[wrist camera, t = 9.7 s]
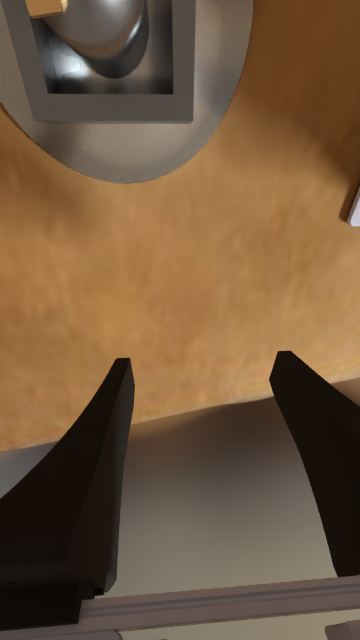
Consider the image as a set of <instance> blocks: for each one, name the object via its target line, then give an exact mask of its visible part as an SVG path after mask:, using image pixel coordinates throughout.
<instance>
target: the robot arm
mask: <svg viewBox="0 0 360 640" xmlns="http://www.w3.org/2000/svg"><path fill="white" fill-rule="evenodd" d="M347 224H349V225H350V226H360V187H359V190H358V192H357V195H356V197H355V200H354V203H353V205H352V208H351V211H350V213H349V216H348V219H347ZM269 381H270V384H271V387H272V391H273V394H274V397H275V399H276V402H277V404H278V406H279V408H280V410H281V412H282V415H283V417H284V419H285V421H286V424H287V426H288V428H289V430H290V432H291V434H292V436H293V438H294V441H295V443H296V445H297V448H298V450H299V453H300V455H301V458H302V461H303V463H304V467H305V470H306V472H307V475H308V479H309V482H310V485H311V487H312V491H313V494H314V497H315V500H316V503H317V507H318V510H319V513H320V517H321V521H322V524H323V528H324V531H325V535H326V539H327V543H328V546H329V550H330V554H331V558H332V562H333V566H334V569H335V571H336V574H337V576H338V577H336V578H326V579H315V580H303V581H292V582H280V583H269V584H258V585H248V586H236V587H224V588H213V589H202V590H191V591H180V592H168V593H159V594H158V593H157V594H146V595H135V596H125V597H112V598H102V599H94V598H95V596H98V595H104V592H108V591H109V590H110V588H111V587H112V586H113V585H114V583H115V581H116V577H117V556H118V538H119V536H118V535H119V522H120V507H121V493H122V481H123V469H124V459H125V452H126V446H127V441H128V435H129V430H130V424H131V418H132V412H133V406H134V391H135V384H134V378H133V373H132V367H131V361H130V358H117V359H116V360H115V361H114V363H113V365H112V367H111V369H110V371H109V373H108V374H107V376H106V378H105V379H104V381H103V383H102V384H101V386H100V387H99V389H98V391H97V392H96V394H95V395H94V397H93V398H92V400H91V401H90V402H89V404H88V405H87V407H86V408H85V409H84V411H83V412H82V414H81V415H80V416H79V418H78V419H77V420H76V421H75V423H74V424H73V425H72V426H71V428H70V429H69V430H68V431H67V432H66V434H65V435H64V436H63V437H62V438H61V439H60V440H59V442H58V443H57V444H56V445H55V446H54V447H53V448H52V449H51V450H50V452H49V453H48V454H47V455H46V456H45V457H44V458H43V459H42V460H41V461H40V462H39V463H38V464H37V465H36V466H35V467H34V468H33V469H32V470H31V471H30V472H29V473H28V474H27V475H26V476H25V477H24V478H23V479H22V480H21V481H20V482H19V483H17V485H15V486H14V487H13V488H12V489H11V490H10V491H9V492H8V493H6V494H5V495H4V496H3V497H2V498H1V499H0V640H123V639H122V636H121V634H120V633H118V632H122V631H132V630H143V629H154V628H163V627H174V626H183V625H184V626H185V625H195V624H206V623H216V622H226V621H237V620H248V619H258V618H268V617H278V616H288V615H299V614H309V613H321V612H331V611H341V610H351V609H360V407H359V406H358V405H357V404H355V403H354V402H352V401H351V400H350V399H348V398H347V397H346V396H344V395H343V394H342V393H340V392H339V391H338V390H337V389H335V388H334V387H333V386H332V385H330V384H329V383H328V382H327V381H325V380H324V379H323V378H322V377H321V376H319V375H318V374H317V373H316V372H315V371H314V370H312V369H311V368H310V367H309V366H308V365H307V364H305V363H304V362H303V361H302V360H301V359H300V358H298V357H297V356H296V355H295V354H294V353H292V352H291V351H278V353H277V356H276V359H275V362H274V365H273V369H272V372H271V375H270V378H269ZM325 633H326V635H327V639H328V640H360V620H353V621H347V622H345V623H340V624H335V625H330V626H326V627H325ZM162 640H166V639H162Z"/></svg>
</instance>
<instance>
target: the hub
mask: <svg viewBox="0 0 360 640" xmlns="http://www.w3.org/2000/svg"><path fill="white" fill-rule="evenodd" d="M253 1H254V0H147V6H148V17H149V37H148V43H147V48H146V51H145V54H144V56H143V59H142V60H141V62H140V64H139V65H138V67H137V68H136V69H135V70H134V71H133V72H132V73H131V74H129V75H128V76H126V77H123V78H120V79H108V78H105V77H102V76H100V75H98V74H96V73H95V72H93V71H92V70H91V69H90V68H89V67H88V66H87V65H86V64H85V63H84V62H83V61H82V60H81V59H80V58H79V57H78V56H77V55H76V54H75V53H74V52H73V50H72V49H71V48H70V47H69V46H68V45H67V44H66V43H65V42H64V41H63V40H62V39H61V38H60V37H59V36H58V35H57V34H56V32H55V31H54V30H53V29H52V28H51V27H50V26H49V25H48V24H47V23H46V22H45V21H44V20H43V19H42V18H35V19H33V18H32V17H30V14H29V11H28V8H27V5H26V1H25V0H0V102H1V103H2V105H3V106H4V108H5V109H6V110H7V112H8V113H9V114H10V115H11V117H12V118H13V119H14V120H15V121H16V123H17V124H18V125H19V126H20V127H21V128H22V130H23V131H24V132H25V133H26V134H27V135H28V136H29V137H30V138H31V139H32V140H33V141H34V142H35V143H36V144H37V145H39V146H40V147H41V148H42V149H44V150H45V151H46V152H47V153H49V154H50V155H51V156H52V157H54V158H55V159H57V160H58V161H60V162H61V163H63V164H64V165H66V166H68V167H69V168H71V169H73V170H75V171H77V172H79V173H81V174H84V175H86V176H89V177H92V178H95V179H98V180H103V181H107V182H112V183H139V182H144V181H149V180H153V179H156V178H159V177H161V176H163V175H166V174H168V173H170V172H172V171H173V170H175V169H177V168H178V167H180V166H182V165H183V164H184V163H185V162H187V161H188V160H189V159H190V158H192V157H193V156H194V155H195V154H196V153H197V152H198V151H199V150H200V149H201V148H202V147H203V146H204V145H205V143H206V142H207V141H208V139H209V138H210V137H211V135H212V134H213V133H214V131H215V130H216V128H217V127H218V125H219V123H220V122H221V120H222V118H223V116H224V115H225V113H226V111H227V109H228V107H229V104H230V102H231V100H232V98H233V96H234V93H235V90H236V88H237V85H238V82H239V79H240V76H241V73H242V69H243V65H244V61H245V57H246V53H247V49H248V44H249V37H250V31H251V24H252V16H253Z"/></svg>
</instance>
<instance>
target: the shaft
mask: <svg viewBox="0 0 360 640" xmlns="http://www.w3.org/2000/svg"><path fill="white" fill-rule="evenodd" d="M25 1H26V5H27V8H28V11H29V14H30V17H32V18H33V19H35V18H42V19H43V20H44V21H45V22H46V23H47V24H48V25H49V26H50V27H51V28H52V29H53V30H54V31H55V32H56V34H57V35H58V36H59V37H60V38H61V39H62V40H63V41H64V42H65V43H66V44H67V45H68V46H69V47H70V48H71V49H72V50H73V52H74V53H75V54H76V55H77V56H78V57H79V58H80V59H81V60H82V61H83V62H84V63H85V64H86V65H87V66H88V67H89V68H90V69H91V70H92V71H93V72H95V73H96V74H98V75H100V76H102V77H105V78H108V79H120V78H123V77H126V76H128V75H129V74H131V73H132V72H133V71H134V70H135V69H136V68H137V67H138V65H139V64H140V62H141V60H142V59H143V56H144V54H145V51H146V48H147V43H148V37H149V17H148V6H147V0H25Z"/></svg>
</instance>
